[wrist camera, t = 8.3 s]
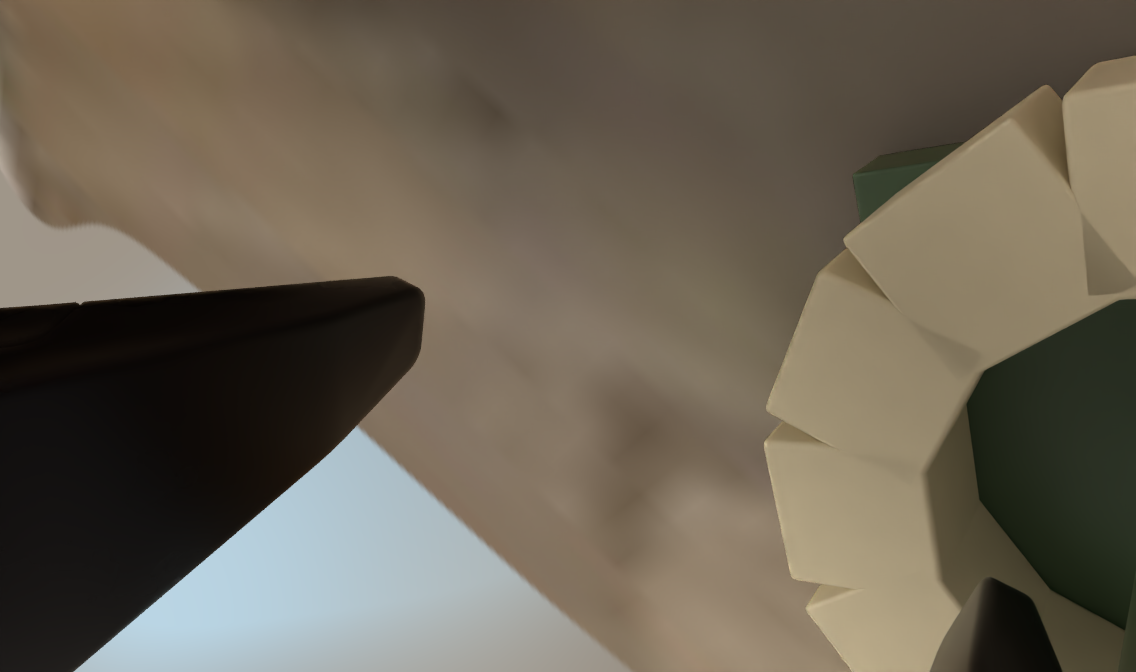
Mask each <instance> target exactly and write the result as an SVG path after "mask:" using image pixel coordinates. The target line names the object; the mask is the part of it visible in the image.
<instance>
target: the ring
mask: <svg viewBox="0 0 1136 672" xmlns="http://www.w3.org/2000/svg"><path fill="white" fill-rule="evenodd" d="M843 242H844V244H845V245H846V247H847V248H846V249H845V250H843V251H842V252H841V253H840V254H839V255H838V256H837V257H835V258H834V259H833V260H832V261H831V262H830V263H829V264H827V265H826V266H825V267H824V268H823V269H822V270H821V271H820V272H818V273H817V276H816V279H815V281H814V284H813V286H812V289H811V291H810V294H809V297H808V299H807V302H806V304H805V307H804V309H803V312H802V315H801V317H800V320H799V322H798V325H797V327H796V330H795V333H794V335H793V338H792V340H791V343H790V345H789V348H788V351H787V353H786V356H785V358H784V361H783V363H782V366H781V369H780V371H779V374H778V376H777V379H776V381H775V384H774V387H773V389H772V392H771V394H770V397H769V400H768V402H767V409H766V410H767V411H768V412H769V413H770V414H771V415H773V416H775V417H777V418H779V419H781V420H783V421H782V422H781V423H780V424H779V425H778V426H777V428H776V429H775V430H774V431H773V432H772V433H771V434H770V435H769V437H768V438H767V439H766V440H765V443H764V450H765V455H766V460H767V465H768V469H769V474H770V479H771V484H772V489H773V493H774V498H775V503H776V508H777V513H778V517H779V522H780V527H781V532H782V537H783V541H784V546H785V551H786V556H787V561H788V565H789V570H790V575H791V577H792V578H793V579H795V580H799V581H805V582H811V583H818V584H820V586H819V587H818V589H817V591H816V592H815V594H814V595H813V597H812V598H811V600H810V602H809V603H808V605H807V606H806V611H807V613H808V614H809V616H810V617H811V618H812V619H813V621H814V622H815V623H816V625H817V626H818V627H819V629H820V630H821V631H822V632H823V634H824V635H825V636H826V638H827V639H828V640H829V642H830V643H831V644H832V646H833V647H834V648H835V649H836V651H837V652H838V653H839V655H840V656H841V657H842V659H843V660H844V661H845V662H846V664H847V665H848V666H849V668H850V669H851V670H852V672H930V669H931V667H932V664H933V662H934V659H935V656H936V654H937V651H938V649H939V647H940V645H941V643H942V641H943V639H944V637H945V635H946V633H947V632H948V630H949V628H950V627H951V625H952V624H953V622H954V621H955V619H956V617H957V616H958V614H959V613H960V611H961V610H962V608H963V606H964V605H965V603H966V602H967V600H968V599H969V597H970V595H971V594H972V592H973V591H974V589H975V588H976V586H977V585H978V583H979V582H980V581H981V580H982V579H984V578H986V577H993V578H995V579H997V580H999V581H1001V582H1003V583H1005V584H1007V585H1009V586H1011V587H1013V588H1015V589H1017V590H1019V591H1021V592H1023V593H1025V594H1027V595H1028V596H1029V597H1030V598H1031V599H1032V600H1033V601H1034V603H1035V605H1036V608H1037V610H1038V613H1039V615H1040V618H1041V620H1042V622H1043V625H1044V627H1045V630H1046V632H1047V635H1048V637H1049V639H1050V642H1051V644H1052V647H1053V649H1054V652H1055V654H1056V657H1057V659H1058V661H1059V664H1060V666H1061V669H1062V671H1063V672H1118V668H1119V662H1120V657H1121V651H1122V646H1123V640H1124V635H1125V630H1123V629H1121V628H1119V627H1118V626H1116V625H1114V624H1112V623H1110V622H1109V621H1107V620H1105V619H1103V618H1101V617H1099V616H1098V615H1096V614H1094V613H1092V612H1090V611H1088V610H1087V609H1085V608H1083V607H1081V606H1079V605H1078V604H1076V603H1074V602H1072V601H1070V600H1068V599H1067V598H1065V597H1063V596H1061V595H1059V594H1057V593H1056V592H1054V591H1052V590H1050V589H1049V587H1048V586H1047V585H1046V583H1045V582H1044V581H1043V580H1042V578H1041V577H1040V576H1039V575H1038V573H1037V572H1036V571H1035V570H1034V568H1033V567H1032V566H1031V565H1030V563H1029V562H1028V561H1027V559H1026V558H1025V557H1024V556H1023V554H1022V553H1021V552H1020V551H1019V549H1018V548H1017V547H1016V546H1015V544H1014V543H1013V542H1012V541H1011V539H1010V538H1009V537H1008V536H1007V534H1006V533H1005V532H1004V530H1003V529H1002V528H1001V527H1000V525H999V524H998V523H997V522H996V520H995V519H994V518H993V517H992V515H991V514H990V513H989V512H988V510H987V509H986V508H985V506H984V505H983V504H982V503H981V501H980V500H979V493H978V486H977V479H976V471H975V464H974V456H973V449H972V442H971V434H970V427H969V420H968V412H967V405H966V404H967V402H968V400H969V398H970V397H971V395H972V393H973V391H974V389H975V387H976V386H977V384H978V382H979V380H980V378H981V376H982V375H983V373H984V371H985V370H987V369H988V368H990V367H992V366H994V365H996V364H998V363H1000V362H1002V361H1004V360H1006V359H1008V358H1009V357H1011V356H1013V355H1015V354H1017V353H1019V352H1021V351H1023V350H1025V349H1027V348H1028V347H1030V346H1032V345H1034V344H1036V343H1038V342H1040V341H1042V340H1044V339H1046V338H1048V337H1049V336H1051V335H1053V334H1055V333H1057V332H1059V331H1061V330H1063V329H1065V328H1067V327H1068V326H1070V325H1072V324H1074V323H1076V322H1078V321H1080V320H1082V319H1084V318H1086V317H1088V316H1089V315H1091V314H1093V313H1095V312H1097V311H1099V310H1101V309H1103V308H1105V307H1107V306H1108V305H1110V304H1112V303H1114V302H1116V301H1118V300H1124V299H1136V56H1131V57H1125V58H1120V59H1115V60H1109V61H1104V62H1099V63H1097V64H1095V65H1093V66H1092V67H1091V68H1090V69H1089V70H1088V71H1087V72H1086V73H1085V74H1084V75H1083V76H1082V77H1081V78H1080V79H1079V81H1078V82H1077V83H1076V84H1075V85H1074V86H1073V87H1072V88H1071V89H1070V90H1069V91H1068V92H1067V93H1066V94H1065V95H1064V98H1063V100H1061V99H1060V97H1059V96H1058V95H1057V94H1056V93H1055V91H1054V90H1053V89H1052V88H1051V87H1050V86H1048V85H1044V86H1041V87H1040V88H1038V89H1037V90H1036V91H1034V92H1033V93H1032V94H1030V95H1029V96H1028V97H1026V98H1025V99H1024V100H1022V101H1021V102H1019V103H1018V104H1017V105H1015V106H1014V107H1013V108H1011V109H1010V110H1009V111H1007V112H1006V113H1005V114H1003V115H1002V116H1000V117H999V118H998V119H996V120H995V121H994V122H992V123H991V124H990V125H988V126H987V127H986V128H984V129H983V130H981V131H980V132H979V133H977V134H976V135H975V136H973V137H972V138H971V139H969V140H968V141H967V142H965V143H964V144H963V145H961V146H960V147H958V148H957V149H956V150H954V151H953V152H952V153H950V154H949V155H948V156H946V157H945V158H944V159H942V160H941V161H939V162H938V163H937V164H935V165H934V166H933V167H931V168H930V169H929V170H927V171H926V172H925V173H923V174H922V175H920V176H919V177H918V178H916V179H915V180H914V181H912V182H911V183H910V184H908V185H907V186H906V187H904V188H903V189H901V190H900V191H899V192H897V193H896V194H895V195H894V196H893V197H891V198H890V199H889V200H888V201H887V202H885V203H884V204H883V205H882V206H881V207H879V208H878V209H877V210H876V211H875V212H874V213H872V214H871V215H870V216H869V217H868V218H866V219H865V220H864V221H863V222H862V223H860V224H859V225H858V226H857V227H856V228H854V229H853V230H852V231H851V232H850V233H848V234H847V235H846V236H845V238H844V239H843Z"/></svg>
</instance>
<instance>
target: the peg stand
mask: <svg viewBox="0 0 1136 672" xmlns="http://www.w3.org/2000/svg"><path fill="white" fill-rule="evenodd" d="M964 143H965V142H960V143H954V144H948V145H942V146H936V147H930V148H924V149H917V150H911V151H905V152H899V153H893V154H887V155H881V156H879V157H877V158H876V159H874V160H873V161H871V162H870V163H868V164H867V165H866V166H864V167H863V168H861V169H860V170H859V171H857V172H856V173H854V174H853V182H854V188H855V193H856V199H857V205H858V211H859V216H860V222H861V223H862V222H863V221H864V220H865V219H866V218H868V217H869V216H870V215H871V214H872V213H874V212H875V211H876V210H877V209H878V208H879V207H881V206H882V205H883V204H884V203H885V202H887V201H888V200H889V199H890V198H891V197H893V196H894V195H895V194H896V193H897V192H899V191H900V190H901V189H903V188H904V187H906V186H907V185H908V184H910V183H911V182H912V181H914V180H915V179H916V178H918V177H919V176H920V175H922V174H923V173H925V172H926V171H927V170H929V169H930V168H931V167H933V166H934V165H935V164H937V163H938V162H939V161H941V160H942V159H944V158H945V157H946V156H948V155H949V154H950V153H952V152H953V151H954V150H956V149H957V148H958V147H960V146H961V145H963V144H964ZM966 405H967V412H968V420H969V427H970V434H971V442H972V449H973V456H974V464H975V471H976V479H977V486H978V493H979V500H980V501H981V503H982V504H983V505H984V506H985V508H986V509H987V510H988V512H989V513H990V514H991V515H992V517H993V518H994V519H995V520H996V522H997V523H998V524H999V525H1000V527H1001V528H1002V529H1003V530H1004V532H1005V533H1006V534H1007V536H1008V537H1009V538H1010V539H1011V541H1012V542H1013V543H1014V544H1015V546H1016V547H1017V548H1018V549H1019V551H1020V552H1021V553H1022V554H1023V556H1024V557H1025V558H1026V559H1027V561H1028V562H1029V563H1030V565H1031V566H1032V567H1033V568H1034V570H1035V571H1036V572H1037V573H1038V575H1039V576H1040V577H1041V578H1042V580H1043V581H1044V582H1045V583H1046V585H1047V586H1048V587H1049V589H1050V590H1052V591H1054V592H1056V593H1057V594H1059V595H1061V596H1063V597H1065V598H1067V599H1068V600H1070V601H1072V602H1074V603H1076V604H1078V605H1079V606H1081V607H1083V608H1085V609H1087V610H1088V611H1090V612H1092V613H1094V614H1096V615H1098V616H1099V617H1101V618H1103V619H1105V620H1107V621H1109V622H1110V623H1112V624H1114V625H1116V626H1118V627H1119V628H1121V629H1123V630H1125V635H1124V640H1123V646H1122V651H1121V657H1120V662H1119V668H1118V672H1136V299H1124V300H1118V301H1116V302H1114V303H1112V304H1110V305H1108V306H1107V307H1105V308H1103V309H1101V310H1099V311H1097V312H1095V313H1093V314H1091V315H1089V316H1088V317H1086V318H1084V319H1082V320H1080V321H1078V322H1076V323H1074V324H1072V325H1070V326H1068V327H1067V328H1065V329H1063V330H1061V331H1059V332H1057V333H1055V334H1053V335H1051V336H1049V337H1048V338H1046V339H1044V340H1042V341H1040V342H1038V343H1036V344H1034V345H1032V346H1030V347H1028V348H1027V349H1025V350H1023V351H1021V352H1019V353H1017V354H1015V355H1013V356H1011V357H1009V358H1008V359H1006V360H1004V361H1002V362H1000V363H998V364H996V365H994V366H992V367H990V368H988V369H987V370H985V371H984V373H983V375H982V376H981V378H980V380H979V382H978V384H977V386H976V387H975V389H974V391H973V393H972V395H971V397H970V398H969V400H968V402H967V404H966Z"/></svg>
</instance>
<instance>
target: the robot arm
mask: <svg viewBox="0 0 1136 672" xmlns="http://www.w3.org/2000/svg"><path fill="white" fill-rule="evenodd" d="M424 311H425V297H424V294H423V292H422V291H421V290H420V289H419V288H418V287H416V286H414V285H412V284H410V283H408V282H406V281H404V280H402V279H400V278H398V277H394V276H386V277H374V278H362V279H350V280H338V281H326V282H314V283H302V284H291V285H279V286H267V287H255V288H243V289H231V290H219V291H207V292H195V293H184V294H172V295H161V296H148V297H137V298H136V297H135V298H123V299H111V300H100V301H88V302H83V303H82V304H81V305H79V304H78V303H76V302H73V303H62V304H51V305H39V306H23V307H9V308H0V672H73V671H75V670H76V669H77V668H78V667H79V666H81V665H82V664H83V663H84V662H85V661H86V660H88V659H89V658H90V657H91V656H92V655H94V654H95V653H96V652H97V651H98V650H99V649H100V648H102V647H103V646H104V645H105V644H106V643H108V642H109V641H110V640H111V639H112V638H113V637H115V636H116V635H117V634H118V633H119V632H120V631H122V630H123V629H124V628H125V627H126V626H127V625H129V624H130V623H131V622H132V621H133V620H135V619H136V618H137V617H138V616H139V615H140V614H142V613H143V612H144V611H145V610H146V609H148V608H149V607H150V606H151V605H152V604H153V603H154V602H156V601H157V600H158V599H159V598H160V597H162V596H163V595H164V594H165V593H166V592H167V591H169V590H170V589H171V588H172V587H173V586H175V585H176V584H177V583H178V582H179V581H180V580H182V579H183V578H184V577H185V576H186V575H187V574H189V573H190V572H191V571H192V570H193V569H194V568H196V567H197V566H198V565H199V564H200V563H201V562H203V561H204V560H205V559H206V558H207V557H209V556H210V555H211V554H212V553H213V552H214V551H216V550H217V549H218V548H219V547H220V546H222V545H223V544H224V543H225V542H226V541H227V540H229V538H231V537H232V536H233V535H234V534H236V533H237V532H238V531H239V530H240V529H241V528H243V527H244V526H245V525H246V524H247V523H248V522H250V521H251V520H252V519H253V518H254V517H256V516H257V515H258V514H259V513H260V512H261V511H262V510H264V509H265V508H266V507H267V506H268V505H270V504H271V503H272V502H273V501H274V500H275V499H277V498H278V497H279V496H280V495H281V494H283V493H284V492H285V491H286V490H287V489H288V488H290V487H291V486H292V485H293V484H294V483H296V482H297V481H298V480H299V479H300V478H301V477H303V476H304V475H305V474H306V473H307V472H308V471H310V470H311V469H312V468H313V467H314V466H315V465H317V464H318V463H319V462H320V461H321V460H322V459H323V458H324V457H326V456H327V455H328V454H329V453H330V452H331V451H332V450H333V449H334V448H335V447H336V446H337V445H338V444H339V443H340V442H341V441H342V440H343V439H344V438H345V437H346V436H347V435H348V434H349V433H350V432H351V431H352V430H353V429H354V428H355V427H356V426H357V425H358V424H359V423H360V421H361V420H362V419H363V418H364V417H365V416H366V415H367V414H368V413H369V412H370V411H371V410H372V409H373V408H374V407H375V406H376V405H377V404H378V402H379V401H380V400H381V399H382V398H383V397H384V396H385V395H386V394H387V393H388V392H389V391H390V390H391V389H392V388H393V387H394V386H395V385H396V383H397V382H398V381H399V380H400V379H401V378H402V377H403V376H404V375H405V374H406V373H407V372H408V371H409V370H410V369H411V367H412V366H413V365H414V363H415V362H416V360H417V358H418V356H419V353H420V349H421V342H422V332H423V321H424ZM930 672H1063V671H1062V669H1061V666H1060V664H1059V661H1058V659H1057V657H1056V654H1055V652H1054V649H1053V647H1052V644H1051V642H1050V639H1049V637H1048V635H1047V632H1046V630H1045V627H1044V625H1043V622H1042V620H1041V618H1040V615H1039V613H1038V610H1037V608H1036V605H1035V603H1034V601H1033V600H1032V599H1031V598H1030V597H1029V596H1028V595H1027V594H1025V593H1023V592H1021V591H1019V590H1017V589H1015V588H1013V587H1011V586H1009V585H1007V584H1005V583H1003V582H1001V581H999V580H997V579H995V578H993V577H986V578H984V579H982V580H981V581H980V582H979V583H978V585H977V586H976V588H975V589H974V591H973V592H972V594H971V595H970V597H969V599H968V600H967V602H966V603H965V605H964V606H963V608H962V610H961V611H960V613H959V614H958V616H957V617H956V619H955V621H954V622H953V624H952V625H951V627H950V628H949V630H948V632H947V633H946V635H945V637H944V639H943V641H942V643H941V645H940V647H939V649H938V651H937V654H936V656H935V659H934V662H933V664H932V667H931V669H930Z"/></svg>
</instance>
